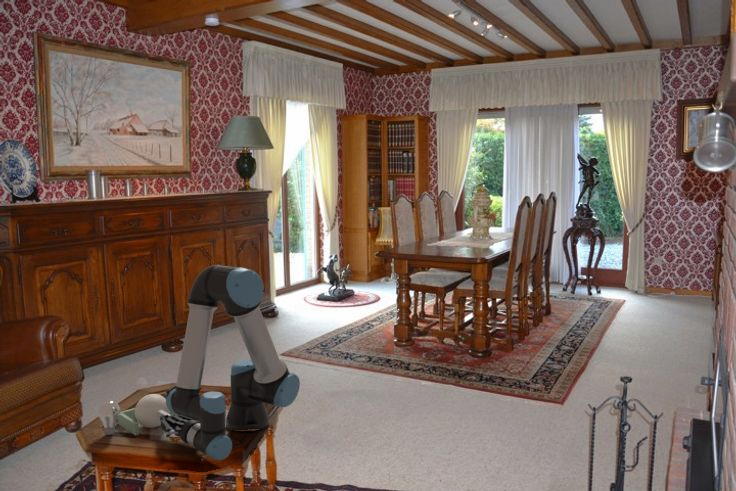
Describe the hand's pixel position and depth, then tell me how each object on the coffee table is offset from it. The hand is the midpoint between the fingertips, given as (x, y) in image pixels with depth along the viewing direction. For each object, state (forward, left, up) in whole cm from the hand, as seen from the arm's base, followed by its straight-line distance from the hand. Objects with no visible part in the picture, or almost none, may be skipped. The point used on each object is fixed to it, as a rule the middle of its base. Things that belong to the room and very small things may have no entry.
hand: (159, 414), depth 213 cm
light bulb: (+13, +10, -6) cm, 18 cm away
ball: (+6, -2, -1) cm, 6 cm away
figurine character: (+10, -22, -7) cm, 25 cm away
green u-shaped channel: (+8, -4, -6) cm, 11 cm away
